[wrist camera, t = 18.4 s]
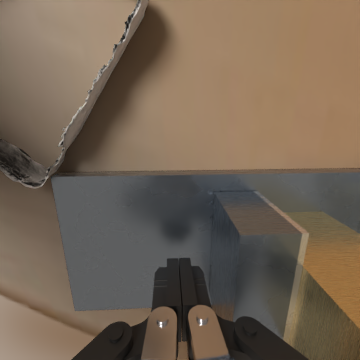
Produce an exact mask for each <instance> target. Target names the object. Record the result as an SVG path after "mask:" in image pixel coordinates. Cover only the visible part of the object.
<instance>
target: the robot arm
mask: <svg viewBox="0 0 360 360" xmlns="http://www.w3.org/2000/svg"><path fill="white" fill-rule="evenodd" d="M181 328H182V341H187V360H309V359H308V358H306V357H305V356H304V355H302V354H301V353H300V352H298V351H297V350H296V349H294V348H293V347H292V346H291V345H289V344H288V343H287V342H285V341H284V340H283V339H281V338H280V337H279V336H277V335H276V334H275V333H273V332H272V331H271V330H269V329H268V328H267V327H265V326H264V325H263V324H261V323H260V322H259V321H257V320H256V319H254V318H252V317H248V316H242V317H239V318H238V319H237V320H236V321H235V322H233V321H229V320H225V319H223V318H221V317H219V316H218V315H217V314H216V313H215V312H214V311H213V309H212V307H211V303H210V298H209V294H208V290H207V285H206V281H205V277H204V272H203V271H202V269H201V268H200V267H199V266H191V260H190V258H179V264H178V258H167V267H158V269H157V271H156V272H155V276H154V287H153V299H152V310H151V313H150V315H149V317H148V318H147V319H146V320H145V321H144V322H142V323H140V324H138V325H135V326H132V327H130V326H129V325H128V324H127V323H125V322H115V323H112V324H110V325H109V326H107V327H106V328H105V329H104V330H103V331H102V332H101V333H100V334H99V335H98V336H97V337H95V338H94V339H93V340H92V341H91V342H90V343H89V344H88V345H87V346H86V347H85V348H84V349H83V350H81V351H80V352H79V353H78V354H77V355H76V356H75V357H74V358H73V359H72V360H177V357H178V342H181Z"/></svg>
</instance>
